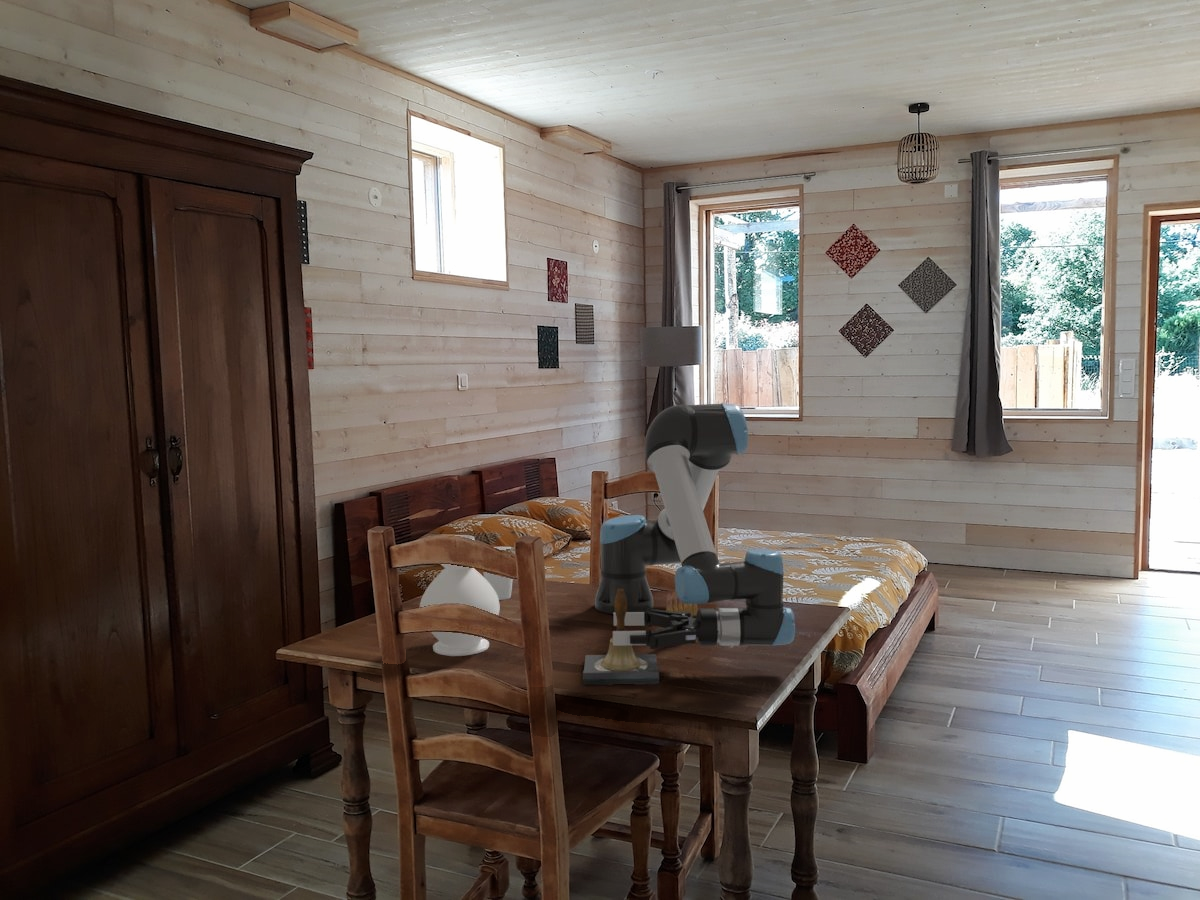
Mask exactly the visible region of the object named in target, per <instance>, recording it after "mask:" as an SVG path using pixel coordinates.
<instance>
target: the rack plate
mask: <svg viewBox="0 0 1200 900" xmlns="http://www.w3.org/2000/svg"><path fill="white" fill-rule="evenodd" d="M634 654H635V653H634ZM606 655H607V654H586V655H585V657H584V658H585V659H584V668H583V671H582V685H583V686H611V685H612V686H614V685H613V684H635V685H660V671H659V670H660V669H659V668H658V660H657V654H655V653H651V654H650V653H647V654H646V653H644V654H643V653H642V654H638V653H637V654H635V656H636V658H637V659H639V661H640V662H641V666H640V667H638V668H636V669H634V670H629V671H613V670H608V669H605V668H603V667H602V666H601V662H602V660H603V659H604V658H605V657H606ZM658 669H659V670H658Z"/></svg>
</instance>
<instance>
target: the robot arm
mask: <svg viewBox="0 0 1200 900" xmlns="http://www.w3.org/2000/svg"><path fill="white" fill-rule="evenodd" d="M748 444H749V432H748V423H747V420H746V417H745V414H744V412H743V410H742V408H740V407H739V406H738V405H736V404H735V403H734V404H733V403H723V402H721V403H709V404H708V403H706V404H704V403H703V404H686V405H684V404H679V405H678V404H677V405H673V406H669V407H667V408H665V409H664V410H662V411H660V412H659V413H658V414H657V415H656V416H655V418H653V420H652V421H651V422H650V425H649V426H648V429H647V430H646V434H645V439H644V457H645V460H646V463H647V468H649V469H650V470H651V471H652V472H653V473H654V475H655V479H656V482H657V485H658V489H659V493H660V495H661V498H662V502H663V506H664V508H663V509H662V510H661V511H660V513H659V514H658V516H657V519H650V520H646V517H645V516H644V515H641V514H632V515H630V514H629V515H628V514H627V515H626V514H625V515H621V516H616V517H612V518H610V519H607V520H606V521H604V522H602V524H601V527H600V534H599V536H600V537H599V543H600V580H599V585H598V588H597V591H596V594H595V597H594V598H595V599H594V608H595V610H597V611H598V612H602V613H604V614H613V626H614V627H617V616H616V613H615V607H614V601H615V597H616V594H617V590H618V589H619V588H622V589H624V593H625V596H626V599H627V611H626V615H625V619H624V622H625V627H627V626H628V627H631V626H635V627H636V626H642V627H643V626H644V627H645V628H647V627H649V626H655V627H658V628H660V629H656V630H651V629H648V628H647V629H646V630H625V631H617V630H613V631H612V638H613V646H622V645H632V646H646V647H649V649H650V650H656V649H663V648H664V649H665V648H668V647H675V646H680V645H687V644H691V645H692V644H696V643H697V644H698V645H699V646H700V647H715V646H717V644H718V645H719V646H727V647H729V648H730V649H733V648H734V646H769V647H773V646H784V645H789V644H792V642H793V641H794V639H795V635H796V624H795V615H794V611H793V609H791V608H790V607H786V606H784V602H783V601H784V600H783V598H784V597H783V595H784V593H783V592H784V575H785V574H784V573H785V572H784V562H783V556H782V554H781V552H779V551H777V550H775V549H769V548H755V549H750V550H748V551H746V552H745V556H744V561H735V562H722V563H721V562H720V561H719V558H718V556H717V554H718V553H717V552H716V551H717V550H716V549H715V546H714V542H713V539H712V536H711V533H710V529H709V527H708V523H707V519H706V516H705V512H704V509H705V507H706V504H707V502H708V501H709V497H710V494H711V492H712V490H713V486H714V484H715V482H716V479H717V476H718V475H719V472H720V470H722V469H724V468H726V467H727V466H728V465H729V464H730V462H731V459H732V457H733V455H742V454H744V453H745V452H746V450H747V448H748ZM672 564H673V565H674V564H680V565H681V566H680V567H678V568H677V569H676V571H675V573H674V585H675V590H674V591H675V593H676V597H677V596H678V598H679V599H680V601H681V602H683V603H686V604H697V605H698V604H699V605H705V604H706V603H715V602H723V601H726V602H727V601H739V600H745V606H746V607H741V608H740V607H739V608H738V607H719V608H718V610H716V609H714V608H699V609H698V608H697V617H696V618H691V613H689V612H687V613H684V612H673V611H666V610H665V609H655V608H654V597H653V594H652V591H651V588H650V585H649V582H648V579H647V566H657V565H672ZM696 638H697V639H696Z"/></svg>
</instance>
